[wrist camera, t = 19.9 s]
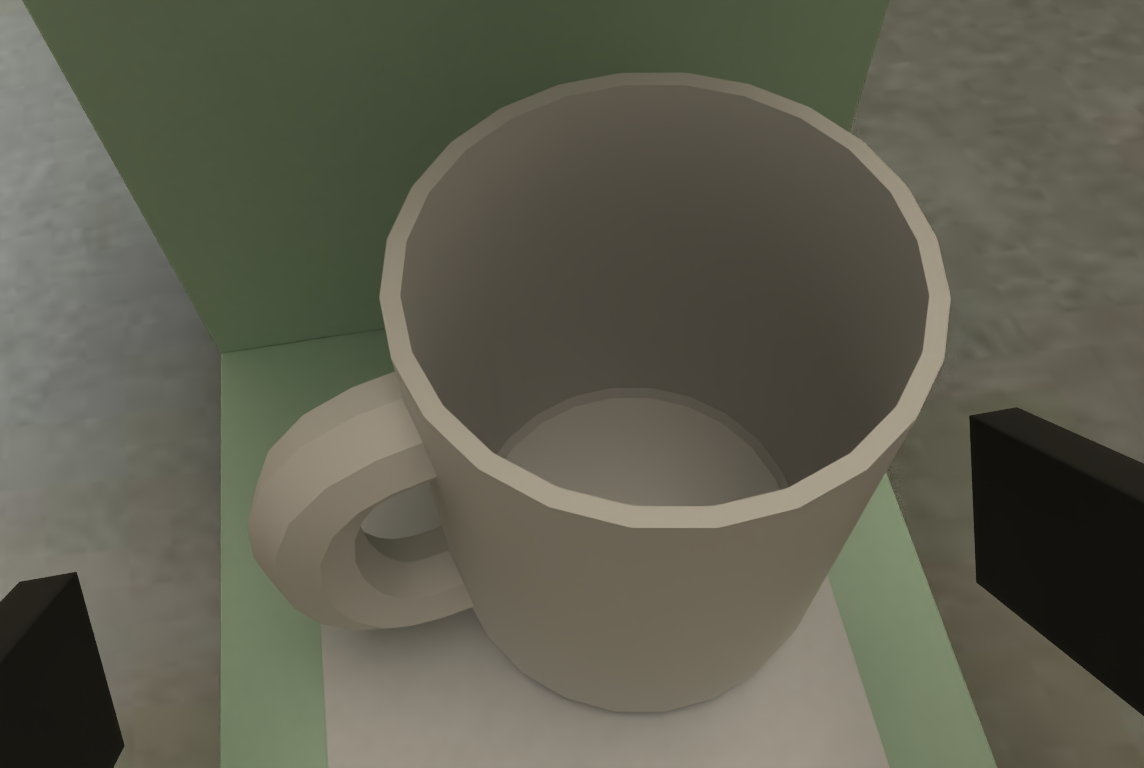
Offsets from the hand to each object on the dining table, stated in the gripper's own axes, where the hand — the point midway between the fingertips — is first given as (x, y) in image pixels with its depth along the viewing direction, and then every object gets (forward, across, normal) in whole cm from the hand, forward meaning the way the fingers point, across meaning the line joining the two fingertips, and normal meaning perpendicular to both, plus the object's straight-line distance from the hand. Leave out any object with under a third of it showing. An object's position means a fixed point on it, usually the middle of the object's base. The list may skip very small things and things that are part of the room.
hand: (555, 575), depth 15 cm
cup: (+5, +1, -2) cm, 6 cm away
